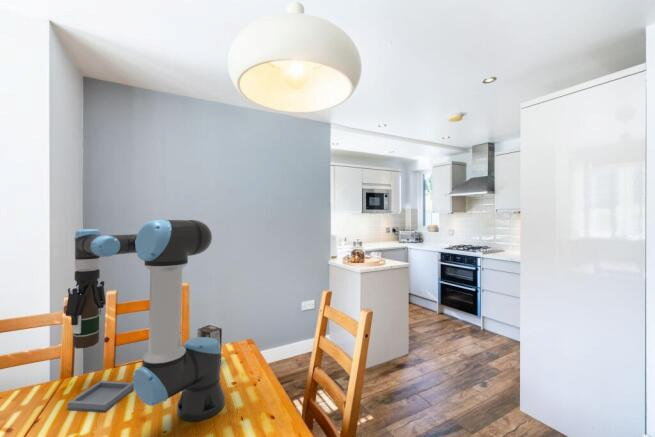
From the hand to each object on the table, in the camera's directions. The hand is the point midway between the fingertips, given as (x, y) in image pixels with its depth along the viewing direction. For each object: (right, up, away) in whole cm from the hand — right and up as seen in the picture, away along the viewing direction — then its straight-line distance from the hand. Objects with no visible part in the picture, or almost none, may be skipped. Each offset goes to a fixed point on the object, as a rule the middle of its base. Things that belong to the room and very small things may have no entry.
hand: (86, 328), depth 115 cm
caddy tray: (+12, -22, -8) cm, 26 cm away
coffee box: (+40, -23, +19) cm, 50 cm away
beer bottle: (0, -6, 0) cm, 6 cm away
